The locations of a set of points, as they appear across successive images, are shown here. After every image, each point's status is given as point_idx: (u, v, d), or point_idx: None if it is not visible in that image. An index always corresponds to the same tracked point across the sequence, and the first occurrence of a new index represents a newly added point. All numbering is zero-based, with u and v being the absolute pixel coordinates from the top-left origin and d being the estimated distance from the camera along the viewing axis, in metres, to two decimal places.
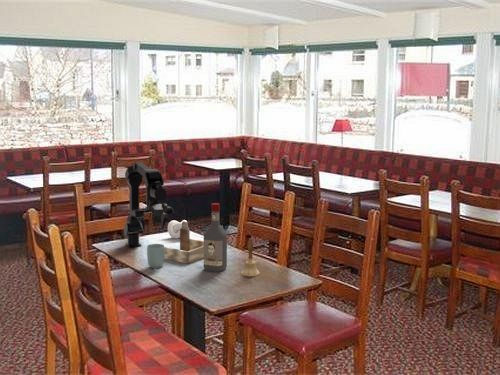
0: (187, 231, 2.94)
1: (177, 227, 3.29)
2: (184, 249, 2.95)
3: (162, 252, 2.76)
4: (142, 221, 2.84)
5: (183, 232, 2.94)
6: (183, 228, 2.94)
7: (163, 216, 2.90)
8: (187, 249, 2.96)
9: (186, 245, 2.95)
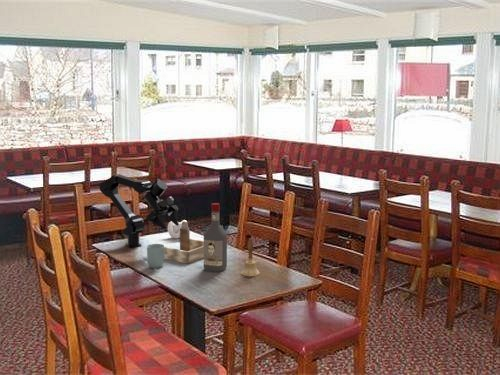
0: (187, 231, 2.94)
1: (177, 227, 3.29)
2: (184, 249, 2.95)
3: (162, 252, 2.76)
4: (160, 219, 2.96)
5: (183, 232, 2.94)
6: (183, 228, 2.94)
7: (172, 214, 3.05)
8: (187, 249, 2.96)
9: (186, 245, 2.95)
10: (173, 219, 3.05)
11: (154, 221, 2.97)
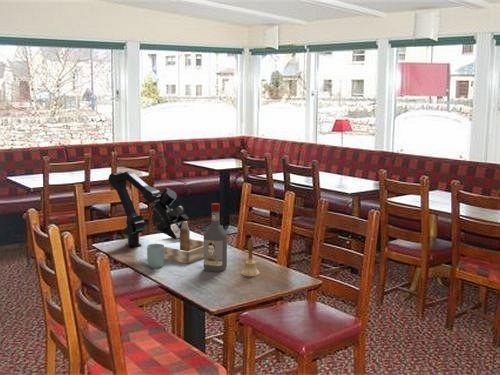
0: (187, 231, 2.94)
1: (177, 227, 3.29)
2: (184, 249, 2.95)
3: (162, 252, 2.76)
4: (170, 229, 2.93)
5: (183, 232, 2.94)
6: (183, 228, 2.94)
7: None
8: (187, 249, 2.96)
9: (186, 245, 2.95)
10: None
11: (164, 231, 2.94)
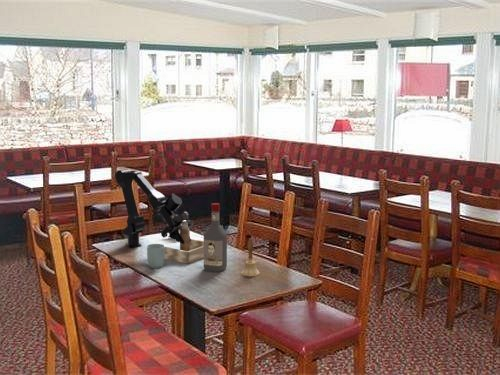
0: (187, 231, 2.94)
1: None
2: (184, 249, 2.95)
3: (162, 252, 2.76)
4: (178, 234, 2.94)
5: (183, 232, 2.94)
6: (183, 228, 2.94)
7: None
8: (187, 249, 2.96)
9: (186, 245, 2.95)
10: None
11: (172, 236, 2.95)
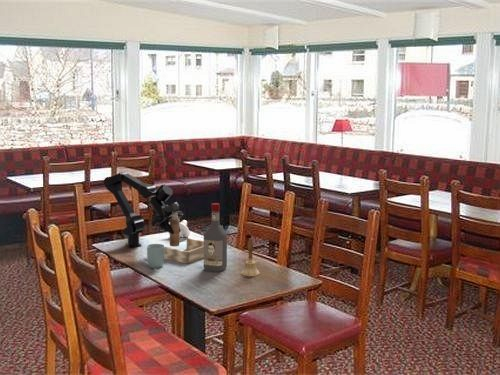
0: (177, 221, 2.97)
1: None
2: (174, 239, 2.98)
3: (162, 252, 2.76)
4: (168, 224, 2.96)
5: (173, 222, 2.96)
6: (173, 218, 2.97)
7: None
8: (177, 239, 2.98)
9: (176, 235, 2.98)
10: None
11: (162, 226, 2.97)
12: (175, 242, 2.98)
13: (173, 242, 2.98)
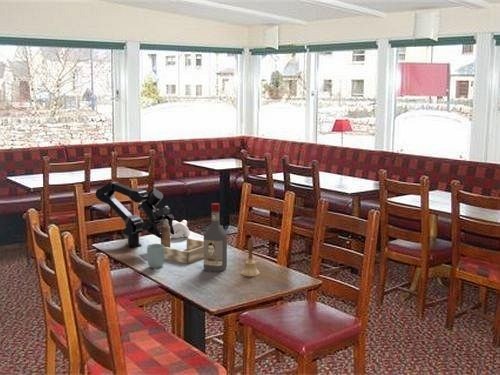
0: (168, 229, 3.01)
1: (177, 227, 3.29)
2: (165, 246, 3.02)
3: (162, 252, 2.77)
4: (156, 228, 2.98)
5: (164, 230, 3.00)
6: (164, 226, 3.01)
7: (168, 223, 3.07)
8: (168, 246, 3.02)
9: (167, 242, 3.01)
10: None
11: (150, 230, 2.99)
12: None
13: None
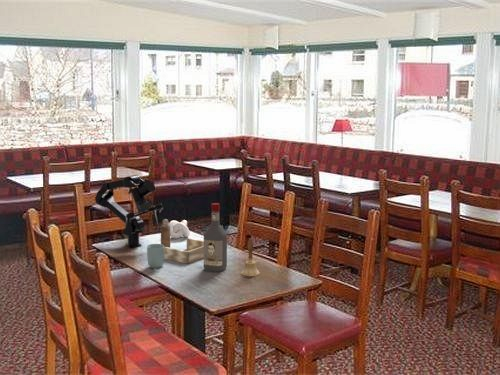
0: (168, 229, 3.01)
1: (177, 227, 3.29)
2: (165, 246, 3.02)
3: (162, 252, 2.76)
4: (136, 222, 3.04)
5: (164, 230, 3.00)
6: (164, 226, 3.01)
7: (155, 213, 3.08)
8: (168, 246, 3.02)
9: (167, 242, 3.01)
10: (156, 218, 3.09)
11: (133, 221, 3.07)
12: None
13: None
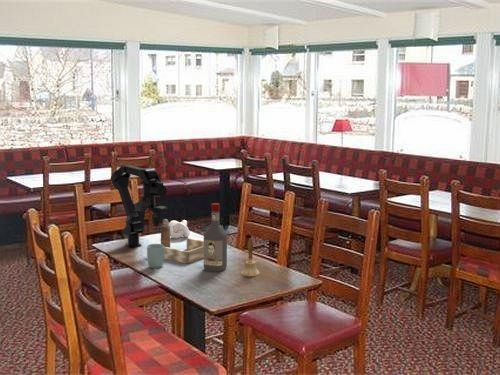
0: (168, 229, 3.01)
1: (177, 227, 3.29)
2: (165, 246, 3.02)
3: (162, 252, 2.76)
4: (138, 214, 3.05)
5: (164, 230, 3.00)
6: (164, 226, 3.01)
7: None
8: (168, 246, 3.02)
9: (167, 242, 3.01)
10: None
11: None
12: None
13: None
